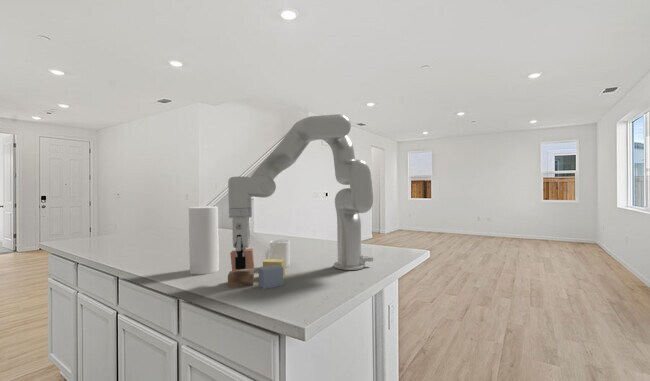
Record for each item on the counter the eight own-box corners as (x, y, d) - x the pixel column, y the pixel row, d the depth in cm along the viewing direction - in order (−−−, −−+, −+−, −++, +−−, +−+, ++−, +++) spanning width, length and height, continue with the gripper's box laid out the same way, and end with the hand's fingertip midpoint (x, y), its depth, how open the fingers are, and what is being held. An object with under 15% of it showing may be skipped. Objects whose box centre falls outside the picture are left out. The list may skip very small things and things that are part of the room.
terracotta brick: (254, 265, 113) (252, 248, 113) (253, 268, 109) (251, 250, 109) (233, 268, 112) (231, 250, 112) (232, 271, 108) (230, 253, 108)
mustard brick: (285, 276, 119) (284, 259, 119) (281, 279, 115) (281, 262, 115) (267, 275, 121) (266, 259, 120) (263, 278, 117) (262, 261, 117)
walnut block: (253, 281, 114) (253, 269, 114) (252, 286, 108) (252, 274, 108) (230, 282, 113) (230, 270, 113) (228, 287, 107) (227, 275, 107)
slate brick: (278, 282, 112) (277, 264, 111) (283, 285, 108) (283, 267, 108) (258, 286, 108) (258, 267, 108) (263, 289, 104) (263, 270, 104)
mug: (273, 272, 125) (272, 245, 124) (258, 269, 130) (258, 243, 129) (294, 265, 134) (294, 240, 134) (279, 263, 139) (279, 238, 139)
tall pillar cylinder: (218, 266, 134) (217, 205, 134) (219, 272, 124) (217, 207, 124) (190, 268, 131) (189, 206, 131) (188, 275, 121) (187, 208, 121)
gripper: (249, 214, 102) (250, 273, 103) (253, 210, 119) (254, 261, 119) (225, 215, 101) (226, 274, 101) (232, 211, 118) (232, 262, 118)
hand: (241, 266), depth 110 cm, fingers closed on terracotta brick, 3 cm apart
